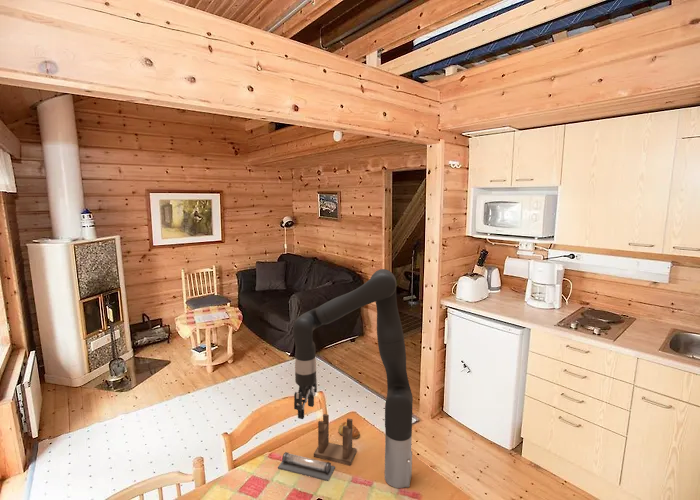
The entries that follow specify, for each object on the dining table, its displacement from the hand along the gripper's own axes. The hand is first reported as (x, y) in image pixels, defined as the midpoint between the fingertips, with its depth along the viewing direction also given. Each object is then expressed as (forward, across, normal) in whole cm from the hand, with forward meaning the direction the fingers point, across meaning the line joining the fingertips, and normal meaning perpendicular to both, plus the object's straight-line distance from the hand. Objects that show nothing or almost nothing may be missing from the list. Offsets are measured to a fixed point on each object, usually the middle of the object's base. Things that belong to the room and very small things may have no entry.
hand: (306, 412), depth 129 cm
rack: (+22, +10, -7) cm, 25 cm away
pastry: (+22, +25, -8) cm, 35 cm away
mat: (+22, 0, 0) cm, 22 cm away
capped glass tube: (+20, 0, 0) cm, 20 cm away
